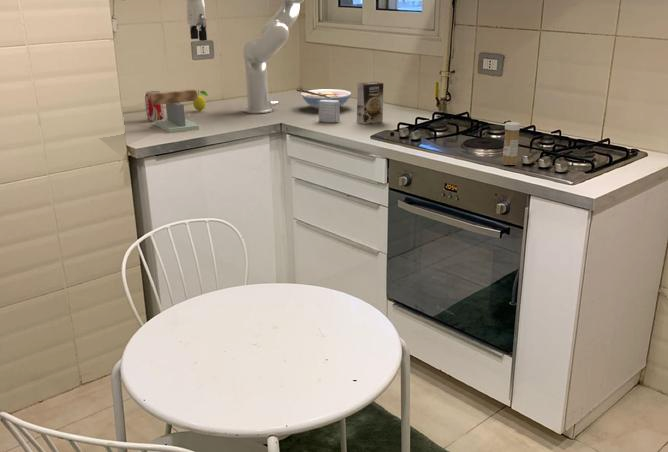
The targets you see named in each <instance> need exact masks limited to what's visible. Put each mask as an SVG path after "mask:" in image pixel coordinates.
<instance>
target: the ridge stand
mask: <svg viewBox="0 0 668 452" xmlns="http://www.w3.org/2000/svg"><path fill="white" fill-rule="evenodd" d="M165 108H166V116H167V117H166V118H167V119H162V120H158V121H154V125H155V126H157V127H159V128H160V129H162V130H164V131H165V132H168V133H169V134H172V133H181V132H188V131H196V130H197V131H198V130H200V125H199V124H196V123H195V122H192V121H190V120H188V119H187V118H186V117H185V105H184V104H183V103H182V102H178V103H169V104H165Z"/></svg>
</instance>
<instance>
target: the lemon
mask: <svg viewBox="0 0 668 452" xmlns="http://www.w3.org/2000/svg"><path fill="white" fill-rule="evenodd" d="M202 95H203V96H205V97H207V96H209V95H208V93H207V92H206V91H205V90H200V91H199V90H197V101H192V105H193V108H194V109H195V110H197V111H198V112H201V111H203V110H204V109H205V108H206V105H207V104H206V99H205V97H203V96H202Z"/></svg>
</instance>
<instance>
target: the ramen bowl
mask: <svg viewBox="0 0 668 452" xmlns="http://www.w3.org/2000/svg"><path fill="white" fill-rule="evenodd" d="M296 92H300V93H301V94H300V95H301V97H302V99H303V100H304V101H305V103H306V104H307V105H309V106H310V107H312V108H314V109H317V110H318V109H319V103H318V102H319V101H320V100H339V108H340V107H342V106H343V105H345V104H346V103H347V101H348V100H349V99H350V96H351V94H352V93H351V91H348V90H344V89H334V88H333V89H332V88H329V89H327V88H326V89H324V88H323V89H322V88H321V89H311V90H306V89H302V88H300V89H296Z"/></svg>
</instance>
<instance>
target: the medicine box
mask: <svg viewBox="0 0 668 452" xmlns="http://www.w3.org/2000/svg"><path fill="white" fill-rule="evenodd" d="M318 103H319V110H318V122H319V121H322V122H321V123H334V122H337V123H338V122H340V121H341V120H340V119H341V117H340V112H341V110H340V107H339V100H320V101H319V102H318Z"/></svg>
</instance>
